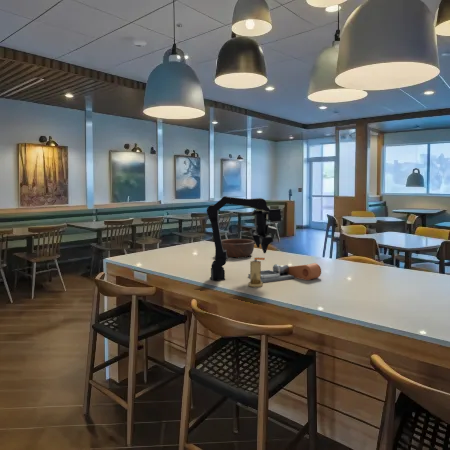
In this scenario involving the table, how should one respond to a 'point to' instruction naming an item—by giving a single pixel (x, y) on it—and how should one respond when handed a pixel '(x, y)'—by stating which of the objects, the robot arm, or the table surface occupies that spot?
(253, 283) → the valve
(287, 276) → the socket plate
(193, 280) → the table surface
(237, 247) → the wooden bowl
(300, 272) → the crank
